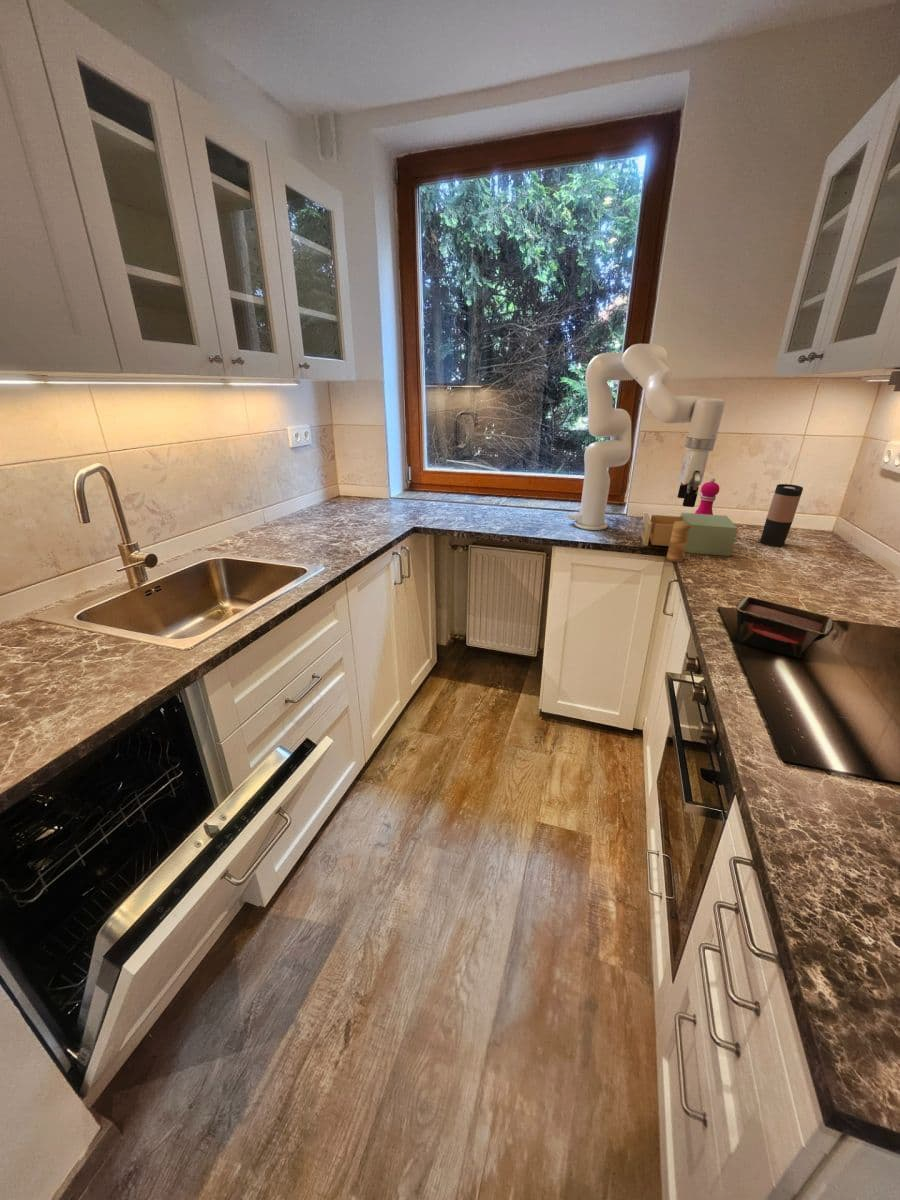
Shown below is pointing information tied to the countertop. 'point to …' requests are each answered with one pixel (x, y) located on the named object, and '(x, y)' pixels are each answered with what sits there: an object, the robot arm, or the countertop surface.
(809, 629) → the baking dish
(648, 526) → the drawer
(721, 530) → the cabinet
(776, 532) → the travel mug
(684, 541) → the cork textured cylinder
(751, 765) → the countertop surface
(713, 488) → the pepper mill
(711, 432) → the robot arm
